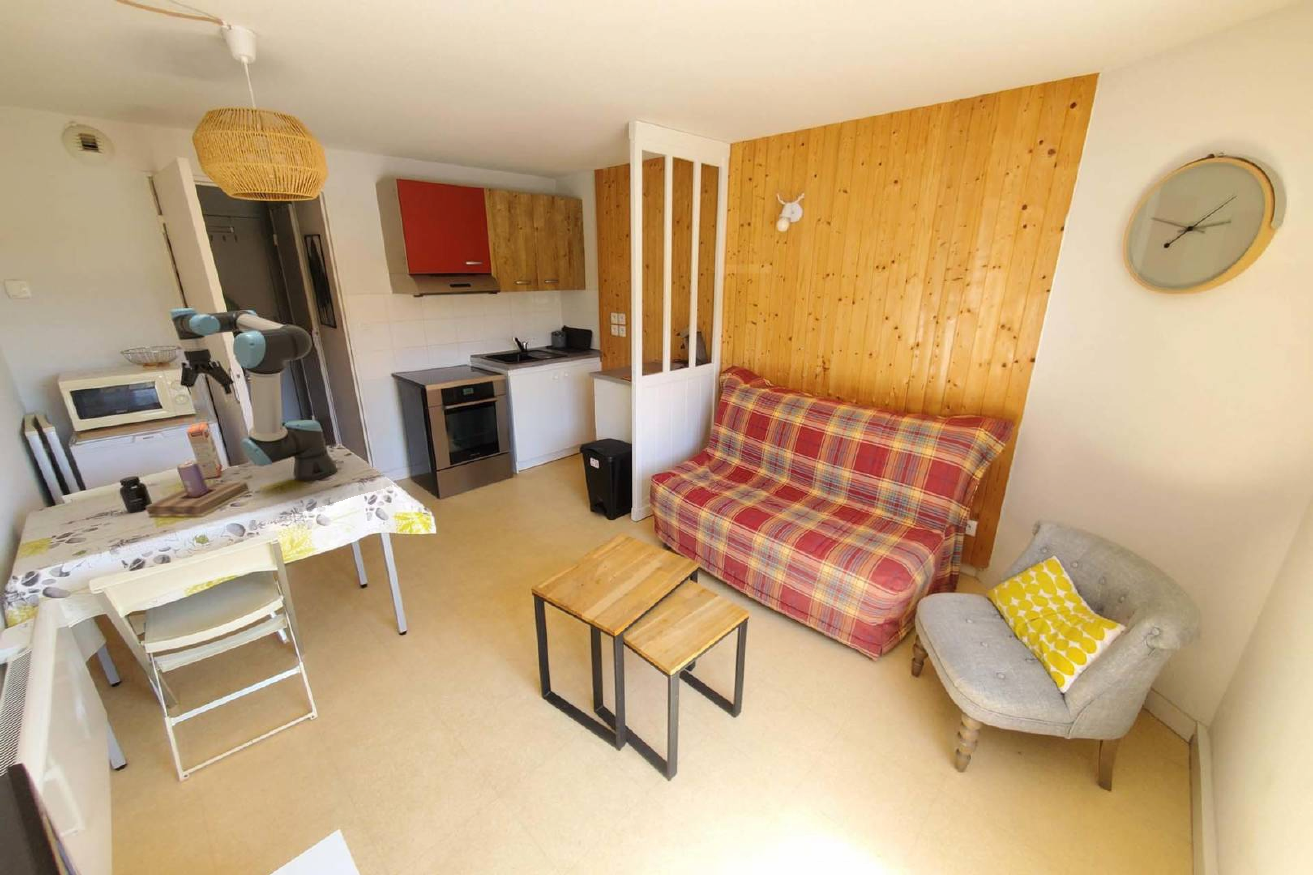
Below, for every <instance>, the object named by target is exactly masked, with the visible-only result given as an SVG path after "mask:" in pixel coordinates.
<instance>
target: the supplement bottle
mask: <svg viewBox="0 0 1313 875" xmlns="http://www.w3.org/2000/svg"><path fill="white" fill-rule="evenodd" d="M119 483H120V486H121V487H119V494H120V497H121V499H122V502H123V504H124V507H125V509H126V511H127V512H129V513H138V512H142V511H145V510H146V511H147V509H146V507H145V506H147V505H150V504H152V503H153V502H152V499H151V496H150V493H149V490H148V489H147V486H146V484H145V483H143V482H141V480H140V477H139V476H137V475H136V476H135V475H133V476H128V477H124V478H121V479H120V480H119Z"/></svg>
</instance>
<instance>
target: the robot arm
mask: <svg viewBox="0 0 1313 875" xmlns="http://www.w3.org/2000/svg"><path fill="white" fill-rule="evenodd" d="M170 316H171V321H172V323H173V325H174V328H175V331H176V334H177V337H178V340H179V342H180V346H181V350H183V355H184V358H185V360H186V361H184V362H181V378H180V386H182V387H183V386H184V387H186V389H187V391H188V393H189V395H190V396H191V399H192V402H193V404H198V403H201V402H202V398H201V395H200V392H199V389H198V386H197V385H196V382H197V379H198V377H199V375H200V374H207V375H209V376H211V377H212V378H213V379H214V380H215V381H216V382H217V383H218V384H220V389H221V390H220V391H221V392H222V395H223V399H224V401H225V403H227V404H228V403H231V402H234V400H233V396H232V393H233V392H232V388H231V385H233V384H234V383H235V382H234V380H233V379H232V378H231V376H230V375H229V374H228V373H227V371H226V370H225V369H224V368H223V366H222V364H221V362H220V361H219V360H215V361H212V360H211V358H212V355H211V352H210V349H208V347H209V345H208V343H207V340H206V337H207V336H212V335H216V334H222V333H224V334H225V333H230V332H231V333H233V332H241V333H239V334H237V336H236V337H234V340H233V344H232V351H233V355H234V356H235V357H234V358H235V360H236V362H237V363H238V365H239V366H241V367H242V368H243V369H244V371H246V372H247V373H249V384H250V396H251V399H250V400H251V410H252V412H251V413H252V424H253V426H252V427H251V428H249V430H248V437H247V438H244V439H242V441H241V447H242V450H243V452H244V453H245V456H246V457H247V459H248V460H250V462H251V463H253V465H255V466H257V467H266V466H269V465H273V464H275V463H278V462H281V461H284V460H288V459H290V458H294V464H293V465H294V466H293V477H294V480H295V481H299V482H308V481H309V482H310V481H316V480H321V479H325V478H327V477H329V476H332V475H334V474H335V473H337V472H338V466H337V463H336V462H334V461H333V459H332V457H331V455H330V454H329V452H328V448H327V444H326V441H325V440H326V439H325V437H324V434H323V432H324V431H323V429H322V426H321V424H320V422H319V421H317V420H314V419H312V420H311V419H303V420H301V419H298V420H292V421H287V422H284V425H283V411H282V410H283V408H282V387H281V385H282V384H281V374H282V373H283V372H284V371H285V369H286V362H290V361H296V360H300V359H302V358H303V357H305V356H307V354H309V352H310V351H311V348H312V346H313V345H312V344H313V342H312V337H311V335H310V334H309V333H308V331H306V330H305V329H304V328H302V327H300V326H298V325H294V324H282V323H279V322H275V321H272V320H269V319H266V318H263V317H259V315H258V314H257V312H256V311H254V310H249V309H248V310H246V309H245V310H244V309H243V310H242V309H241V310H234V311H233V310H232V311H226V312H225V311H223V312H222V311H221V312H211V313H210V312H209V313H198V312H197V310H196V309H195V308H192V307H190V308H187V307H186V308H173V309H171V310H170Z"/></svg>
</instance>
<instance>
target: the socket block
mask: <svg viewBox="0 0 1313 875" xmlns="http://www.w3.org/2000/svg"><path fill="white" fill-rule="evenodd" d="M206 485H207V487H208V490H209V494H206V495H204V496H202V497H200V498H188V496H187V493H186V491H185V488H182V489H180V490H179V491H176V492H175V493H172V494H170V495H168V496H165V497H163V498H161V499H159V500H156V501H154V502H152V504H150V505H147V506H145V507H146V511H147V514H148V516H149V517H151V518H152V517H163V518H164V517H179V518H180V517H185V518H186V517H192V518H193V517H198V518H199V517H204V516H207V515H208V514H210V513H212V512H214V511H216V510H218V509H220V508H221V507H224V506H225V505H228V504H230V503H231V502H233V501H235V500H237V499H239V498H241V497H243V496H244V495H246V494H248V493H250V490H249V487H248V484H247V482H245V481H244V482H242V481H241V482H206Z"/></svg>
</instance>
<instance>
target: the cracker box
mask: <svg viewBox="0 0 1313 875" xmlns="http://www.w3.org/2000/svg"><path fill="white" fill-rule="evenodd" d="M186 434H187V438H188V440H189V444H190V446H191V448H192V452H193V454H194V457H195V461H197V463H198V464H199V466H200V468H201V471H202V474H203V476H204V479H211V478H217V477H220V476H221V472H222V469H223V464H222V462H221V458H220V455H219V452H218V449H217V446H216V443H215V440H214V437H213V433H212V430H211V428H210V424H209V422H200V423H194V424H190V426H189V427H188V430H187V431H186Z"/></svg>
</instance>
